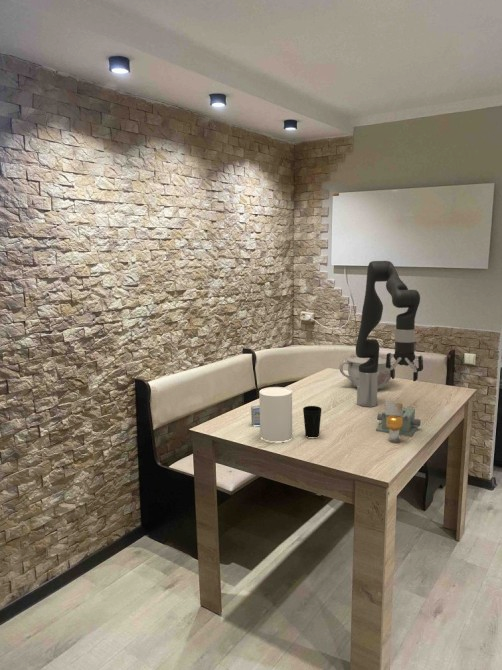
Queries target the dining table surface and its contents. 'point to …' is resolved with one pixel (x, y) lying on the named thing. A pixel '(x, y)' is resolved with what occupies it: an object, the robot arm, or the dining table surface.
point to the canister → (275, 413)
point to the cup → (312, 420)
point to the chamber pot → (356, 361)
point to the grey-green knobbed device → (407, 426)
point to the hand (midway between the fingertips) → (403, 379)
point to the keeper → (394, 408)
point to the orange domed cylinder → (394, 427)
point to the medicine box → (255, 415)
